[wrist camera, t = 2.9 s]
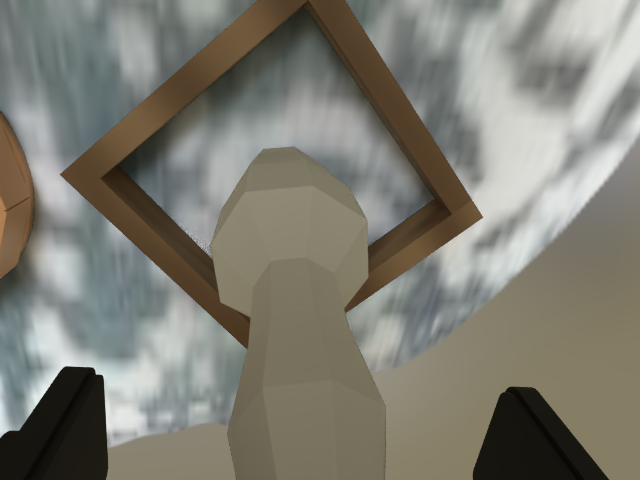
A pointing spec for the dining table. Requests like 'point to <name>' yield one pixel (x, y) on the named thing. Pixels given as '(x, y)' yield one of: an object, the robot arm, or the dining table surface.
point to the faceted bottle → (298, 324)
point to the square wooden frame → (198, 75)
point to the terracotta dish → (13, 199)
